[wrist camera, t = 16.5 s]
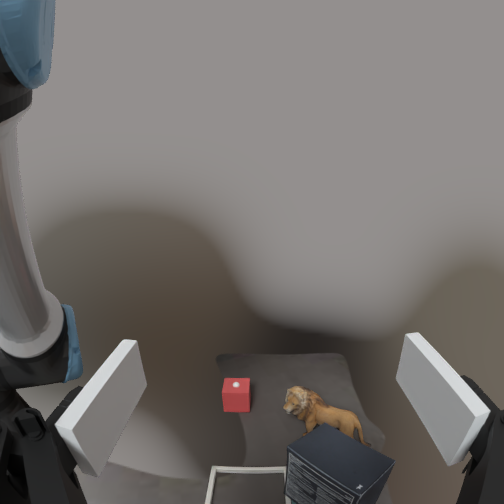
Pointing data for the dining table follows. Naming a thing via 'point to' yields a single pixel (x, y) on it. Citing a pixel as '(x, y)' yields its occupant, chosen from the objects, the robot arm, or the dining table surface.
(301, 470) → the small box
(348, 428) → the lion figurine
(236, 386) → the red block
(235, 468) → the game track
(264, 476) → the dining table surface
